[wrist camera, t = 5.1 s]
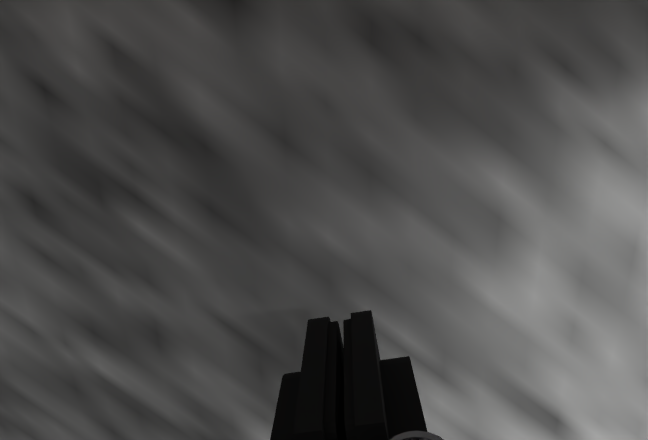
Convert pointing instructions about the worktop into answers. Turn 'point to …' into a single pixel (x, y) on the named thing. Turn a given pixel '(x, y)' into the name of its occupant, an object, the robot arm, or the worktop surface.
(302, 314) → the worktop surface
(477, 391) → the worktop surface
